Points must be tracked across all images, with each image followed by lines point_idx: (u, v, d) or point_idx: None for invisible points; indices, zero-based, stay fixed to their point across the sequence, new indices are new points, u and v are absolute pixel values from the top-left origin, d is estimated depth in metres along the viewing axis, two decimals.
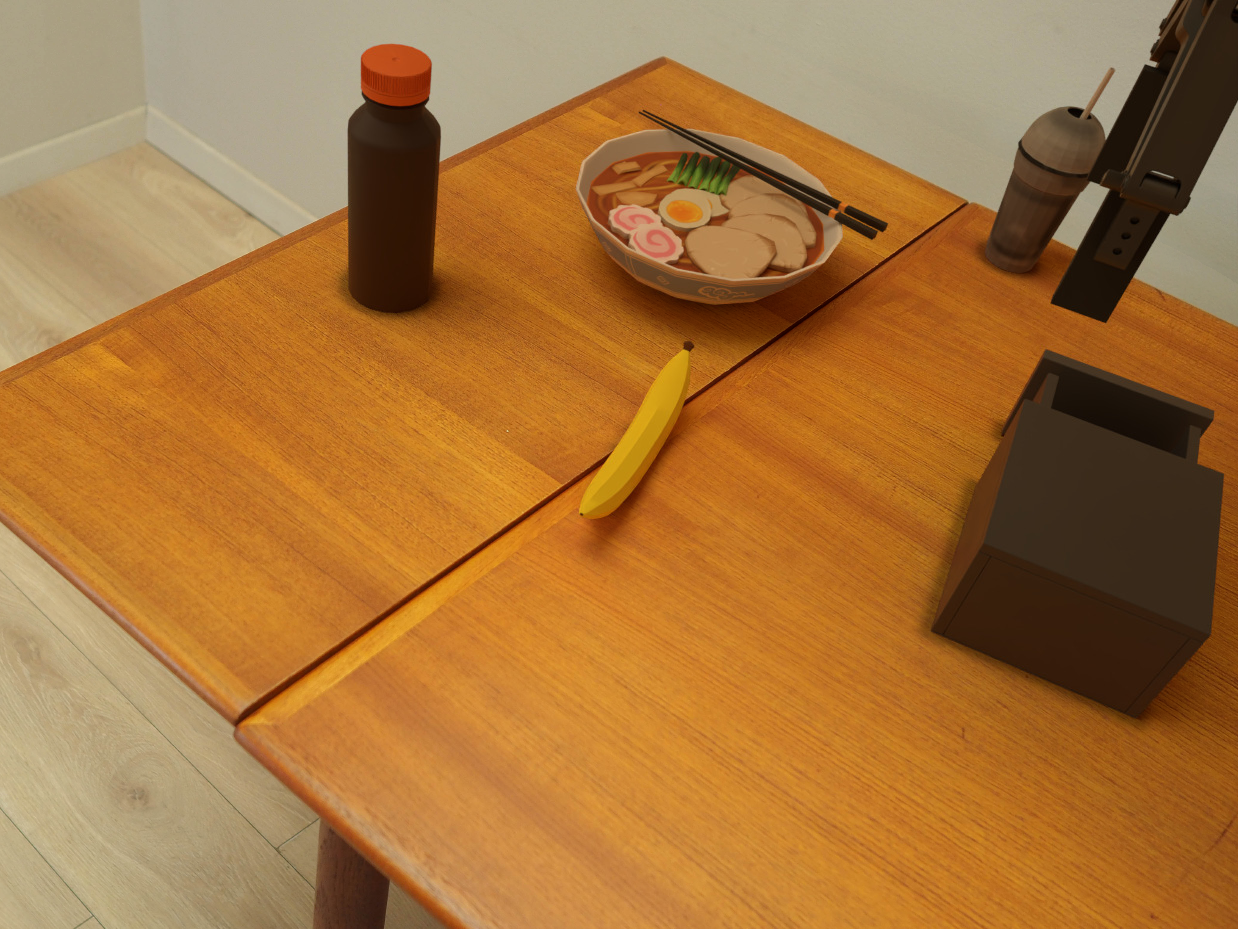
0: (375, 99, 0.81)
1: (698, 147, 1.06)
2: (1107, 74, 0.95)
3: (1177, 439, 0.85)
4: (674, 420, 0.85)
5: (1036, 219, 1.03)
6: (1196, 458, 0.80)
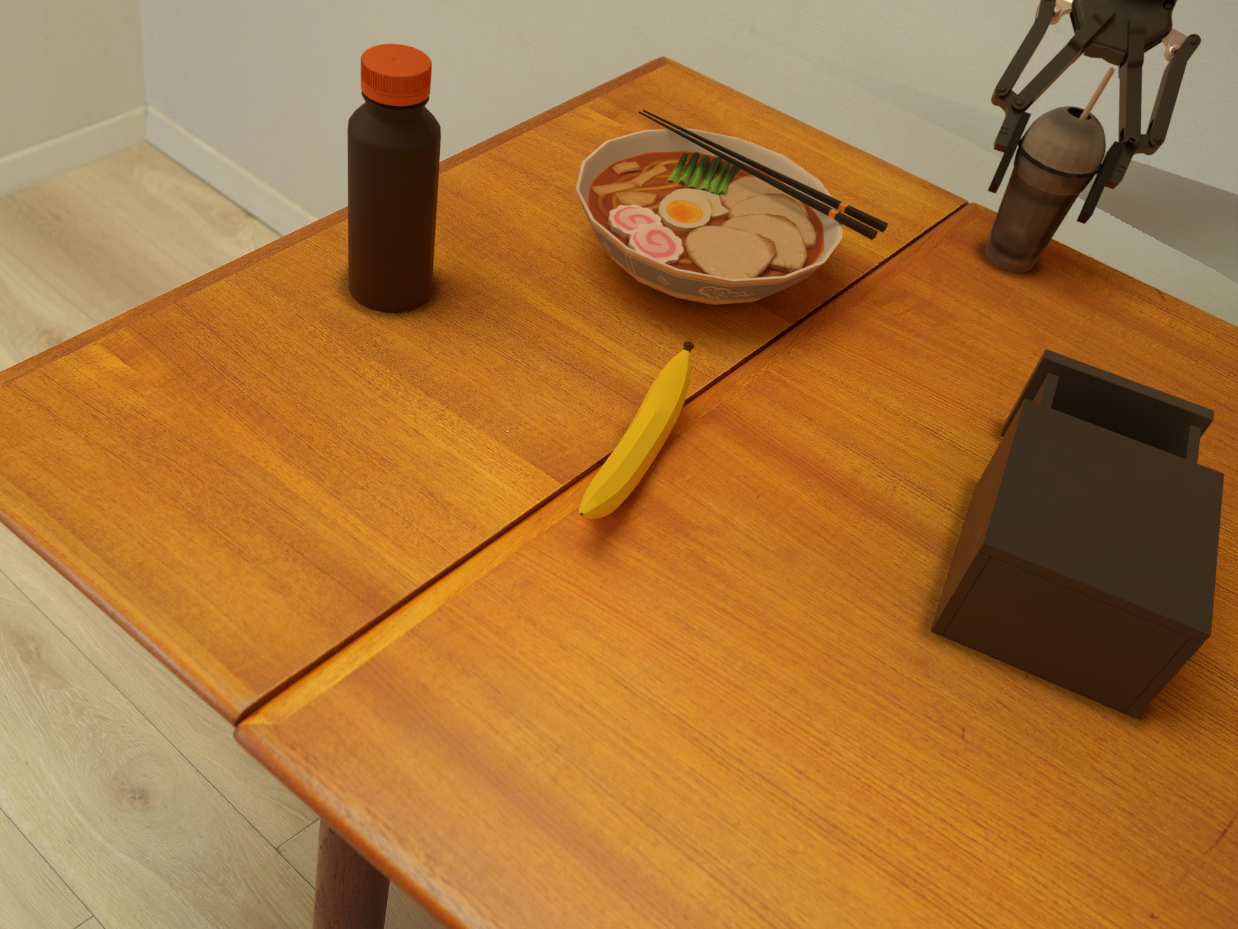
0: (375, 99, 0.81)
1: (698, 147, 1.06)
2: (1107, 74, 0.95)
3: (1177, 439, 0.85)
4: (674, 420, 0.85)
5: (1036, 219, 1.03)
6: (1196, 458, 0.80)
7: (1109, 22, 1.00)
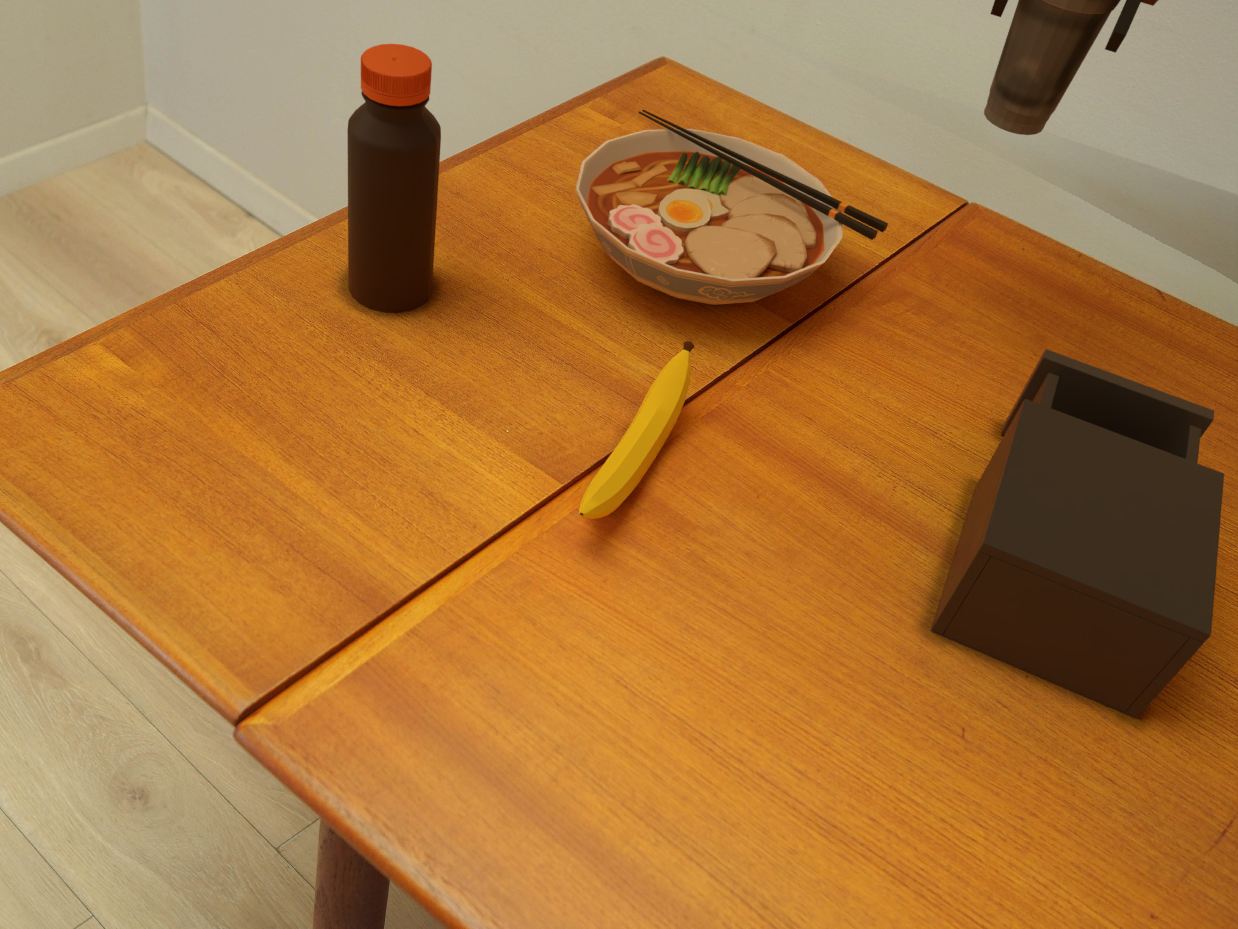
0: (375, 99, 0.81)
1: (698, 147, 1.06)
2: None
3: (1177, 439, 0.85)
4: (674, 420, 0.85)
5: (1053, 49, 0.81)
6: (1196, 458, 0.80)
7: None
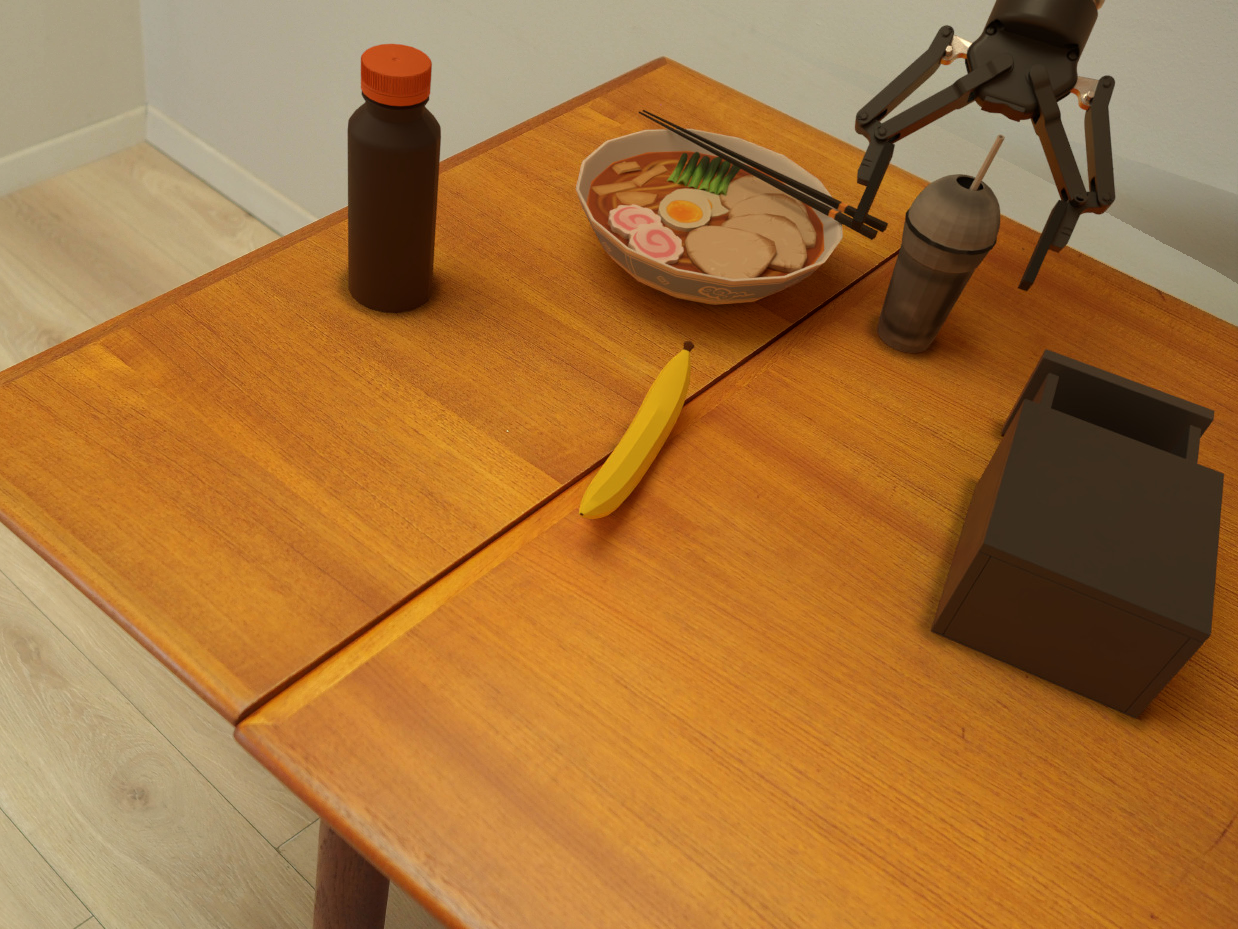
0: (375, 99, 0.81)
1: (698, 147, 1.06)
2: (996, 142, 0.85)
3: (1177, 439, 0.85)
4: (674, 420, 0.85)
5: (927, 297, 0.93)
6: (1196, 458, 0.80)
7: (1004, 75, 0.89)
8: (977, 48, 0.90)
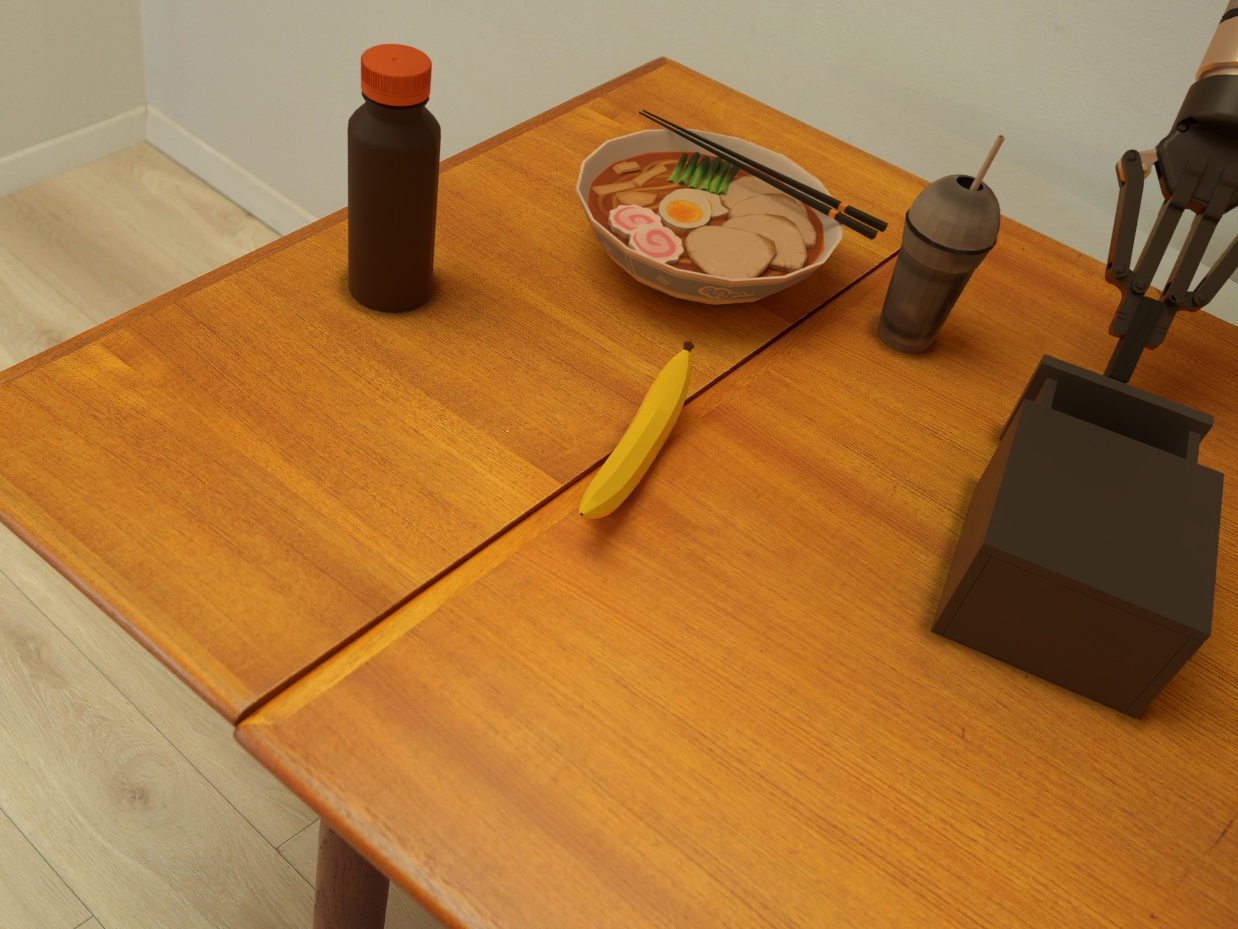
0: (375, 99, 0.81)
1: (698, 147, 1.06)
2: (996, 142, 0.85)
3: (1176, 444, 0.85)
4: (674, 420, 0.85)
5: (927, 297, 0.93)
6: None
7: (1204, 170, 0.88)
8: (1169, 145, 0.89)
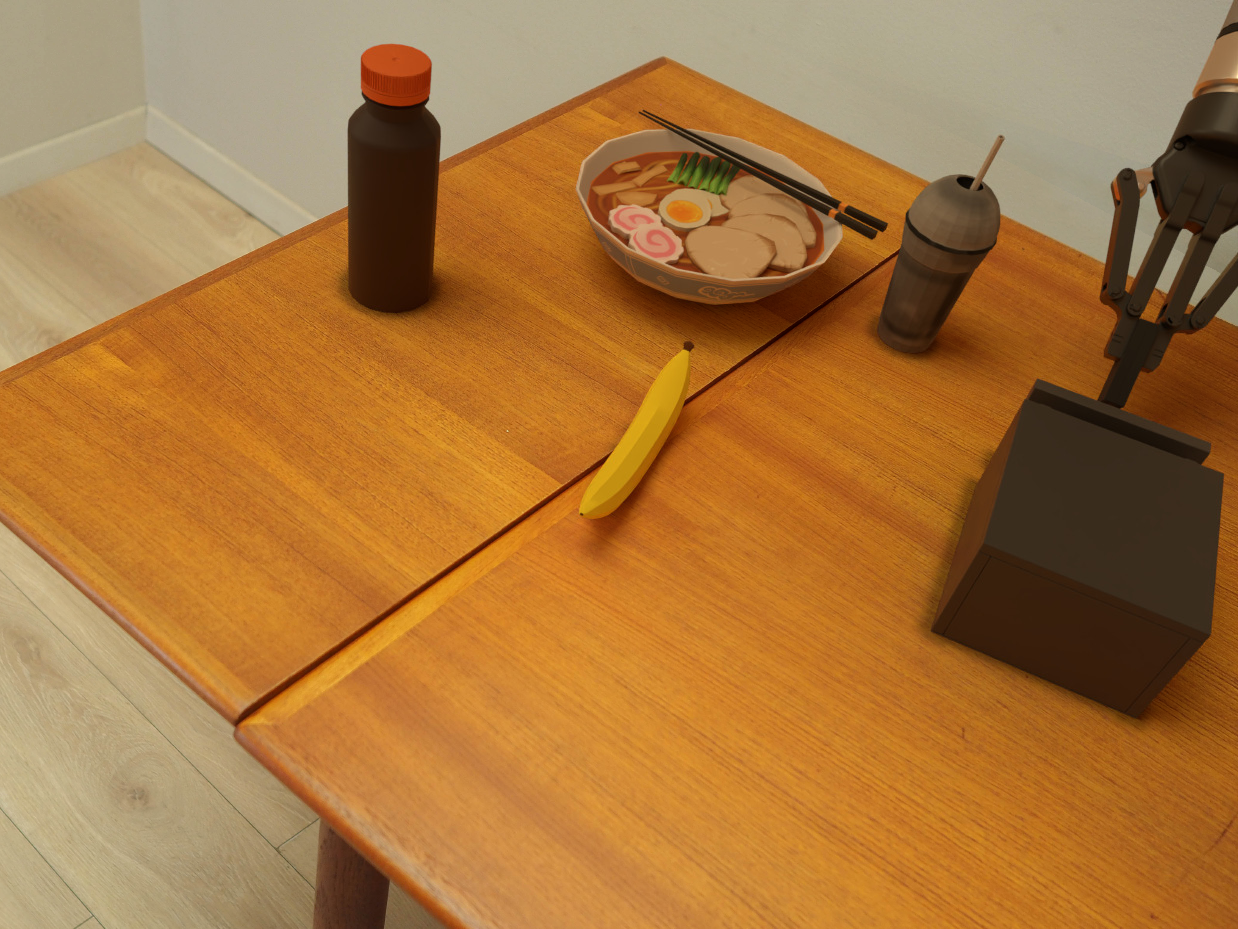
0: (375, 99, 0.81)
1: (698, 147, 1.06)
2: (996, 142, 0.85)
3: None
4: (674, 420, 0.85)
5: (927, 297, 0.93)
6: None
7: (1201, 189, 0.86)
8: (1165, 163, 0.86)
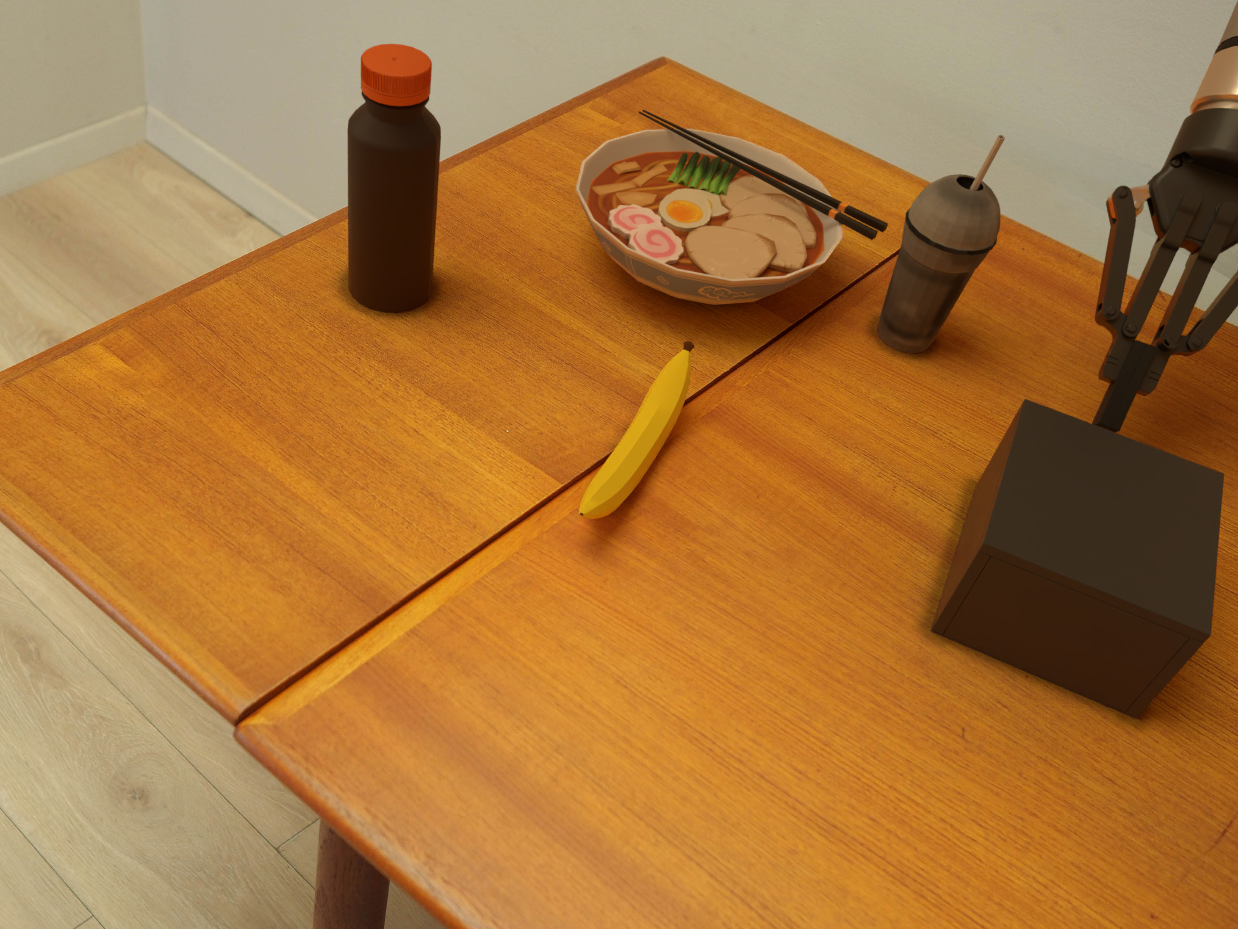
0: (375, 99, 0.81)
1: (698, 147, 1.06)
2: (996, 142, 0.85)
3: None
4: (674, 420, 0.85)
5: (927, 297, 0.93)
6: None
7: (1198, 207, 0.84)
8: (1162, 181, 0.84)
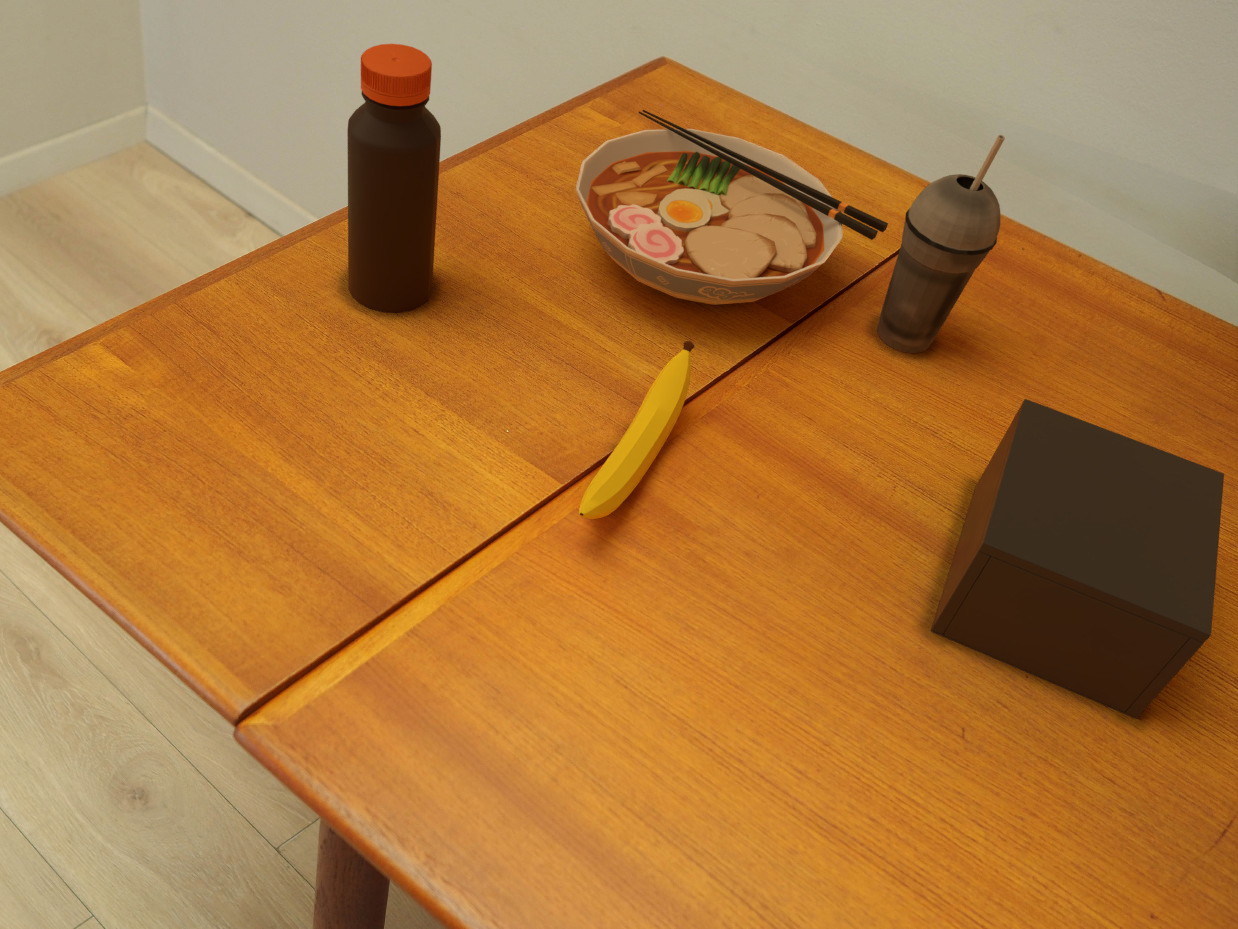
0: (375, 99, 0.81)
1: (698, 147, 1.06)
2: (996, 142, 0.85)
3: None
4: (674, 420, 0.85)
5: (927, 297, 0.93)
6: None
7: None
8: None
